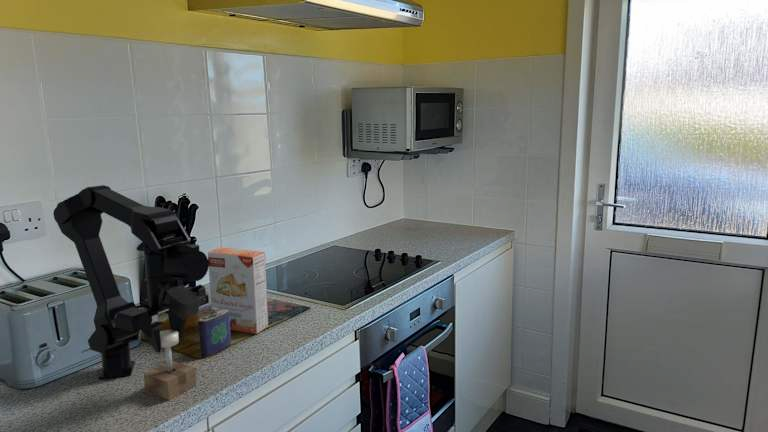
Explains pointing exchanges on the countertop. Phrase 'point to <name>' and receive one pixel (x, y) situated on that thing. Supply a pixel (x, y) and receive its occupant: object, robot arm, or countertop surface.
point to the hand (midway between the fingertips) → (167, 347)
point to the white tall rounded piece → (169, 346)
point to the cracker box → (239, 287)
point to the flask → (214, 332)
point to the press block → (170, 380)
